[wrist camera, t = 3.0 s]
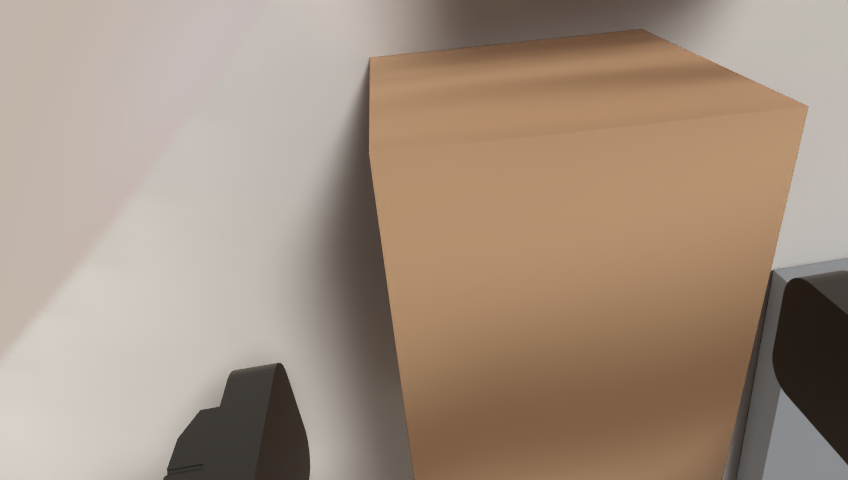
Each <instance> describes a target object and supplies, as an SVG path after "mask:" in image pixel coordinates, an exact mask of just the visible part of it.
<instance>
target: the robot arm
mask: <svg viewBox="0 0 848 480" xmlns="http://www.w3.org/2000/svg"><path fill="white" fill-rule="evenodd" d="M772 363H773V369H774V373H775V376H776V378H777V381H778V383H779V385H780V387H781V388H782V390H783V391H784V393H785V394H786V395H787V396H788V397H789V399H790V400H791V401H792V402H793V403H794V404H795V405H796V407H797V408H798V409H799V410H800V411H801V412H802V413H803V415H804V416H805V417H806V418H807V419H808V420H809V421H810V423H811V424H812V425H813V426H814V427H815V428H816V429H817V431H818V432H819V433H820V434H821V435H822V436H823V437H824V439H825V440H826V441H827V442H828V443H829V444H830V445H831V447H832V448H833V449H834V450H835V451H836V452H837V453H838V455H839V456H840V457H841V458H842V459H843V460H844V461H845V463H846V464H847V465H848V271H844V270H840V271H833V272H827V273H821V274H815V275H810V276H804V277H798V278H793V279H791V280H790V281H789V282H788V283H787V284H786V286H785V289H784V293H783V298H782V304H781V309H780V315H779V320H778V325H777V331H776V336H775V342H774V347H773V353H772ZM309 475H310V455H309V446H308V440H307V435H306V431H305V428H304V425H303V422H302V419H301V416H300V413H299V410H298V407H297V403H296V400H295V397H294V394H293V391H292V388H291V385H290V382H289V379H288V376H287V373H286V370H285V368H284V366H283V365H282V364H281V363H276V364H270V365H264V366H258V367H252V368H246V369H240V370H234V371H232V372H231V373H230V375H229V377H228V380H227V384H226V387H225V391H224V394H223V398H222V401H221V405H220V407H216V408H210V409H204V410H200V411H199V413H198V414H197V415H196V416H195V418H194V419H193V420H192V421H191V423H190V424H189V425H188V427H187V428H186V429H185V430H184V432H183V433H182V434H181V435H180V437H179V438H178V439H177V442H176V445H175V448H174V451H173V454H172V457H171V460H170V462H169V465H168V468H167V476H165V477H164V480H309Z"/></svg>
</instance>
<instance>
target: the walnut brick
mask: <svg viewBox="0 0 848 480" xmlns="http://www.w3.org/2000/svg"><path fill="white" fill-rule="evenodd" d="M807 111H808V106H806V105H804V104H802V103H800V102H798V101H796V100H793V99H791V98H789V97H787V96H785V95H783V94H780V93H778V92H776V91H774V90H772V89H770V88H768V87H765V86H763V85H761V84H759V83H757V82H755V81H752V80H750V79H748V78H746V77H744V76H742V75H739V74H737V73H735V72H733V71H731V70H729V69H727V68H724V67H722V66H720V65H718V64H716V63H714V62H711V61H709V60H707V59H705V58H703V57H701V56H699V55H696V54H694V53H692V52H690V51H688V50H686V49H683V48H681V47H679V46H677V45H675V44H673V43H671V42H668V41H666V40H664V39H662V38H660V37H658V36H655V35H653V34H651V33H649V32H647V31H645V30H643V29H637V30H628V31H618V32H609V33H599V34H590V35H580V36H571V37H561V38H552V39H542V40H533V41H523V42H514V43H504V44H495V45H485V46H476V47H466V48H457V49H447V50H438V51H428V52H419V53H409V54H400V55H390V56H381V57H371V58H370V100H369V158H370V165H371V172H372V180H373V187H374V194H375V201H376V208H377V215H378V223H379V230H380V237H381V244H382V251H383V258H384V266H385V273H386V280H387V287H388V294H389V301H390V309H391V316H392V323H393V330H394V337H395V345H396V352H397V359H398V366H399V373H400V380H401V388H402V395H403V402H404V409H405V416H406V423H407V431H408V438H409V445H410V452H411V459H412V467H413V474H414V480H722V479H723V474H724V470H725V466H726V461H727V457H728V453H729V448H730V444H731V440H732V435H733V431H734V427H735V422H736V418H737V414H738V409H739V405H740V401H741V396H742V392H743V388H744V384H745V379H746V375H747V371H748V366H749V362H750V358H751V353H752V349H753V345H754V340H755V336H756V332H757V327H758V323H759V319H760V314H761V310H762V306H763V301H764V297H765V293H766V288H767V284H768V280H769V275H770V271H771V267H772V262H773V258H774V254H775V249H776V245H777V241H778V236H779V232H780V228H781V224H782V219H783V215H784V211H785V206H786V202H787V198H788V193H789V189H790V185H791V180H792V176H793V172H794V167H795V163H796V159H797V154H798V150H799V146H800V141H801V137H802V133H803V128H804V124H805V120H806V115H807Z"/></svg>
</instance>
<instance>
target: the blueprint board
mask: <svg viewBox="0 0 848 480" xmlns="http://www.w3.org/2000/svg"><path fill="white" fill-rule="evenodd" d="M840 270H844V271H848V258H847V259H841V260H834V261H828V262H822V263H815V264H809V265H803V266H796V267H790V268H784V269H777V270H774V271H773V276H772V282H771V288H770V293H769V299H768V305H767V310H766V316H765V322H764V327H763V333H762V339H761V344H760V350H759V356H758V361H757V367H756V373H755V378H754V384H753V390H752V395H751V401H750V407H749V412H748V418H747V423H746V429H745V435H744V440H743V446H742V452H741V457H740V463H739V469H738V474H737V480H848V465H847V464H846V463H845V461H844V460H843V459H842V458H841V457H840V456H839V455H838V453H837V452H836V451H835V450H834V449H833V448H832V447H831V445H830V444H829V443H828V442H827V441H826V440H825V439H824V437H823V436H822V435H821V434H820V433H819V432H818V431H817V429H816V428H815V427H814V426H813V425H812V424H811V423H810V421H809V420H808V419H807V418H806V417H805V416H804V415H803V413H802V412H801V411H800V410H799V409H798V408H797V407H796V405H795V404H794V403H793V402H792V401H791V400H790V399H789V397H788V396H787V395H786V394H785V393H784V391H783V390H782V388H781V387H780V385H779V383H778V381H777V378H776V376H775V373H774V369H773V363H772V353H773V347H774V342H775V336H776V331H777V325H778V320H779V315H780V309H781V304H782V298H783V293H784V289H785V286H786V284H787V283H788V282H789V281H790V280H791V279H793V278H798V277H804V276H810V275H815V274H821V273H827V272H833V271H840Z"/></svg>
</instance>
